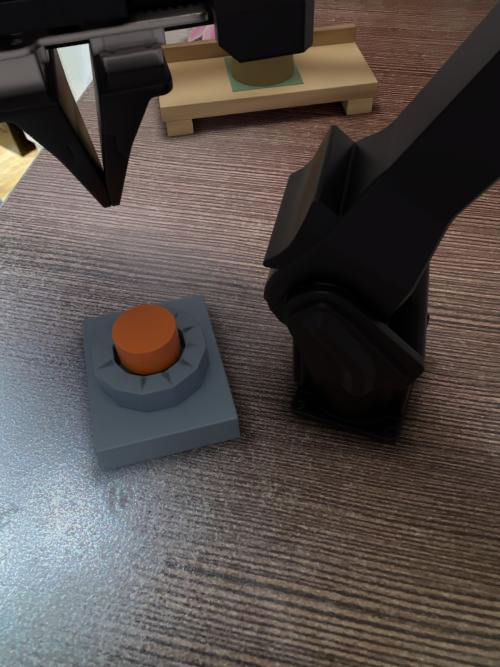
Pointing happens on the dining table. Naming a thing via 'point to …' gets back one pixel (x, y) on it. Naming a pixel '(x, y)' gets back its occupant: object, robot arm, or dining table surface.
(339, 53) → the shelf
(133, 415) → the control box
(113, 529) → the dining table surface
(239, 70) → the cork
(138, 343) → the bell button
